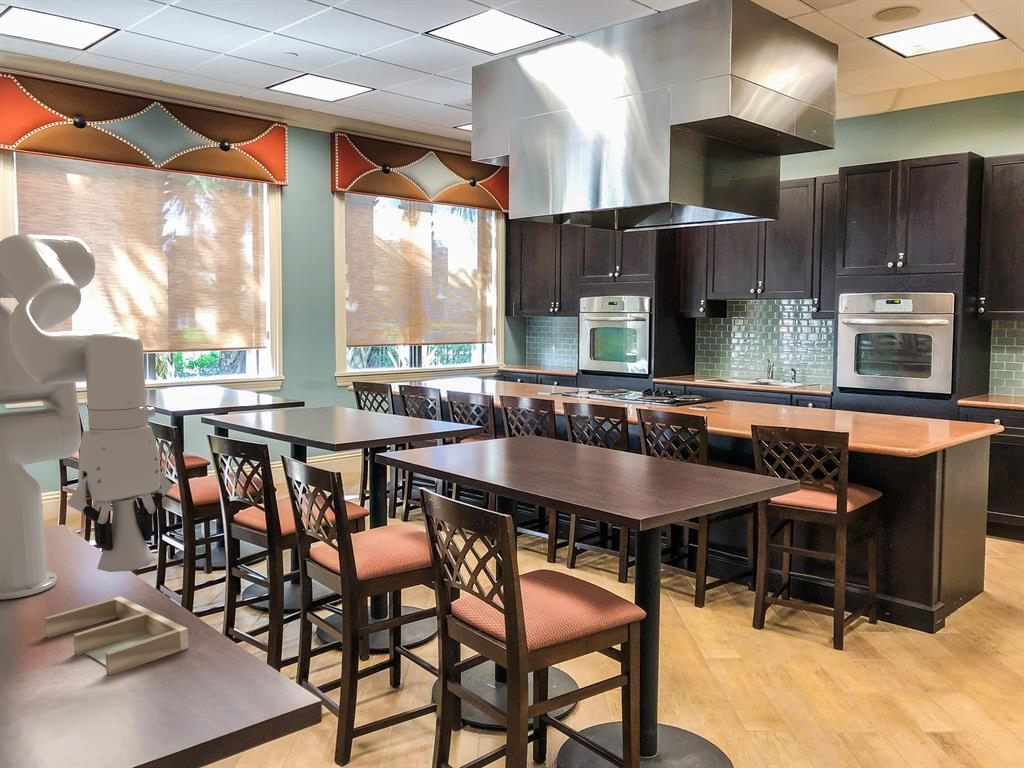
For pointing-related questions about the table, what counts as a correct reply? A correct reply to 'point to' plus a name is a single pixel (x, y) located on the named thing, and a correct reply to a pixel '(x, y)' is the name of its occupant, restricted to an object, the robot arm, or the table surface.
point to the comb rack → (119, 633)
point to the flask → (125, 541)
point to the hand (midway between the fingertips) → (124, 542)
